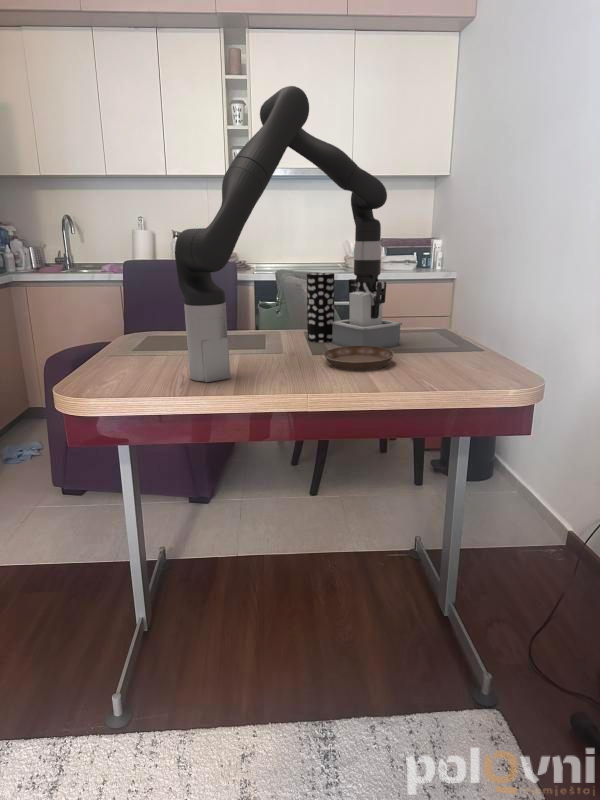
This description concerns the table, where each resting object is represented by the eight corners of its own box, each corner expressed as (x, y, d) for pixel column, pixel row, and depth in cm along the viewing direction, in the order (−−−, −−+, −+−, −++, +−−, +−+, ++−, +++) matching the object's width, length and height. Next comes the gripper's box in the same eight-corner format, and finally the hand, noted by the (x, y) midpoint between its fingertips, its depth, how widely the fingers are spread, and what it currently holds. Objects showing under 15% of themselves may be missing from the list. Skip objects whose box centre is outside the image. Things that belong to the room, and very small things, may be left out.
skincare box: (368, 338, 163) (369, 288, 158) (383, 341, 158) (384, 290, 153) (348, 342, 158) (348, 291, 153) (362, 346, 153) (362, 293, 149)
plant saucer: (345, 376, 125) (345, 364, 124) (311, 361, 140) (311, 349, 139) (407, 367, 132) (408, 355, 131) (369, 353, 147) (369, 343, 146)
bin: (401, 345, 157) (401, 322, 155) (362, 351, 149) (363, 328, 147) (368, 337, 168) (368, 316, 166) (331, 343, 161) (331, 321, 159)
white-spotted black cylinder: (334, 342, 162) (335, 274, 156) (307, 342, 162) (306, 275, 156) (333, 337, 170) (333, 272, 164) (307, 337, 170) (306, 273, 164)
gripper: (394, 258, 147) (392, 318, 152) (361, 256, 159) (360, 313, 164) (374, 259, 143) (372, 321, 148) (341, 257, 155) (340, 315, 160)
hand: (366, 316), depth 156 cm, fingers open, 6 cm apart
